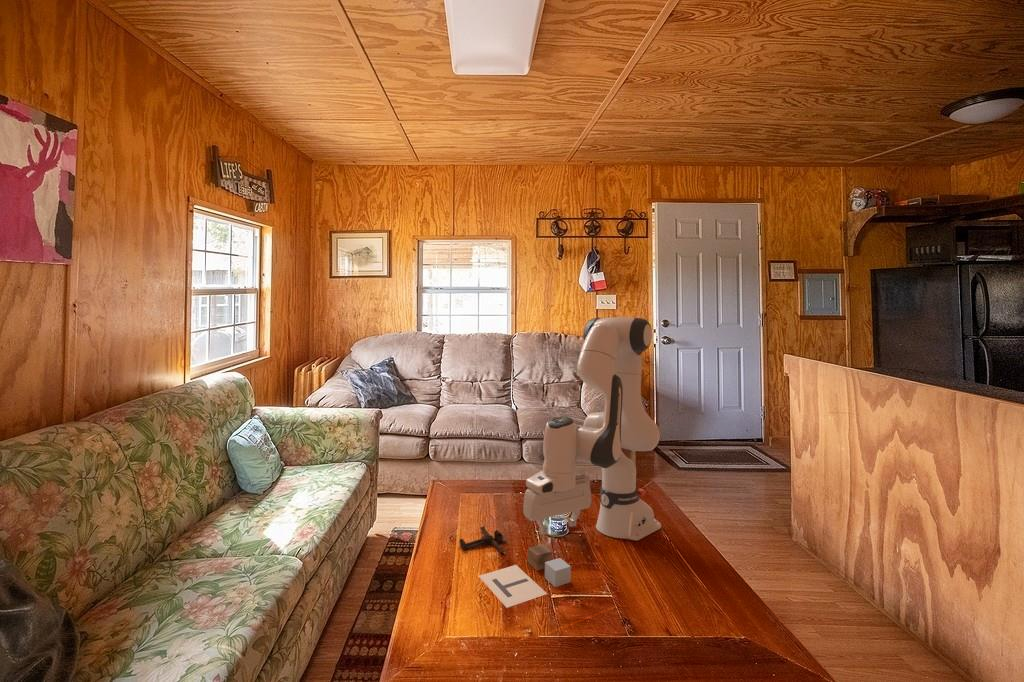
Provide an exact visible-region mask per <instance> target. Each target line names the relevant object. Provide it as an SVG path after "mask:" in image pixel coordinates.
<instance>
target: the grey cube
mask: <svg viewBox="0 0 1024 682" xmlns="http://www.w3.org/2000/svg"><path fill="white" fill-rule="evenodd" d="M571 569H572V566H571V565H570V564H569V563H568V562H566V561H565V560H564V559H562V558H561V557H558V558H556V559H555V558H554V559H552V560H551V561H547V562H545V569H544V578H545V579H546V581H548V582H549V583H550V584H551V585H552V586H553V587H554V588H558V587H560V586H563V585H565V584H569V583H571V579H572V578H571V577H572V570H571Z"/></svg>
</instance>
